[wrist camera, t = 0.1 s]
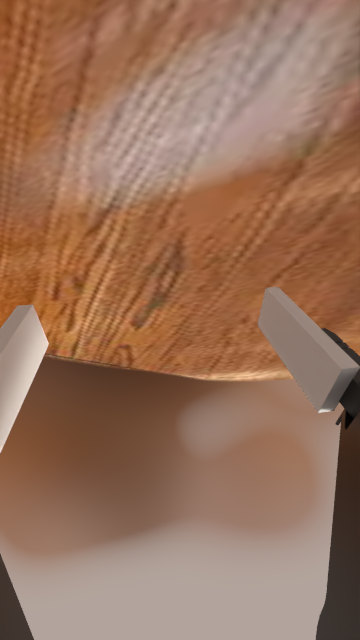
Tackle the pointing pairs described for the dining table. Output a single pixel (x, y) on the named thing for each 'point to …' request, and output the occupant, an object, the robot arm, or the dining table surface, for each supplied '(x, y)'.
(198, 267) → the dining table surface
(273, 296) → the robot arm
